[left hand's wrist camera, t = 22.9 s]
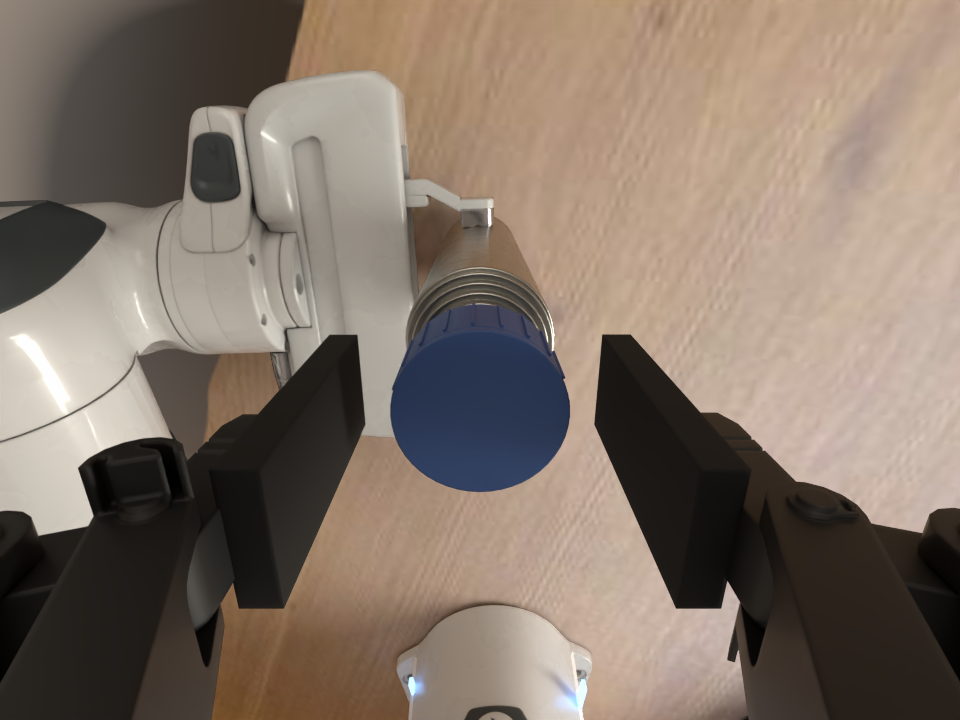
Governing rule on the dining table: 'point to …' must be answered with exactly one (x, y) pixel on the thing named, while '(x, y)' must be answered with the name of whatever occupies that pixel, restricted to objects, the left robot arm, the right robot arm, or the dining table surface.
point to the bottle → (479, 279)
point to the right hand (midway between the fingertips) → (495, 268)
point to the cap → (479, 399)
